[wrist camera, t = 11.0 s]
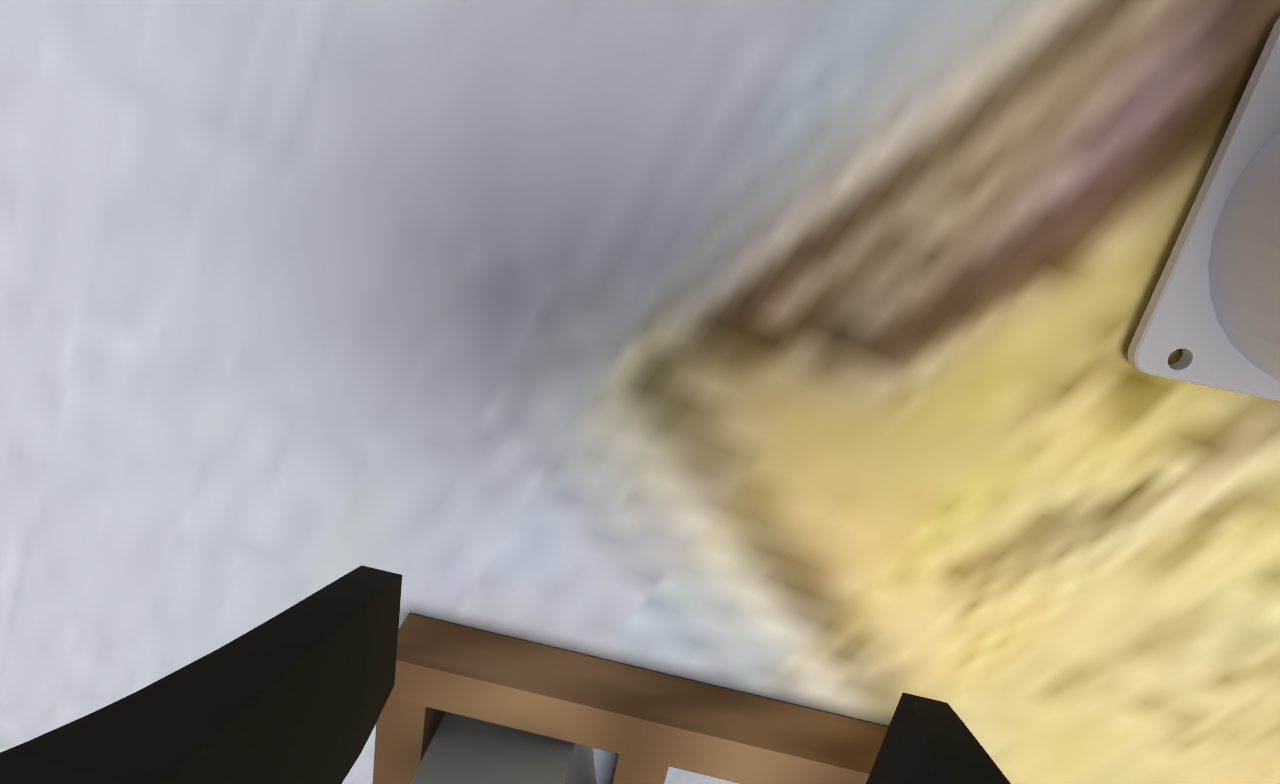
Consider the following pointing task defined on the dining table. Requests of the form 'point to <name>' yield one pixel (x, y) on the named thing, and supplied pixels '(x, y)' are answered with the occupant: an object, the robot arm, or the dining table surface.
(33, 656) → the dining table surface
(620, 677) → the socket board
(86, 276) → the dining table surface
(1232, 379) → the robot arm
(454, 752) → the plug
